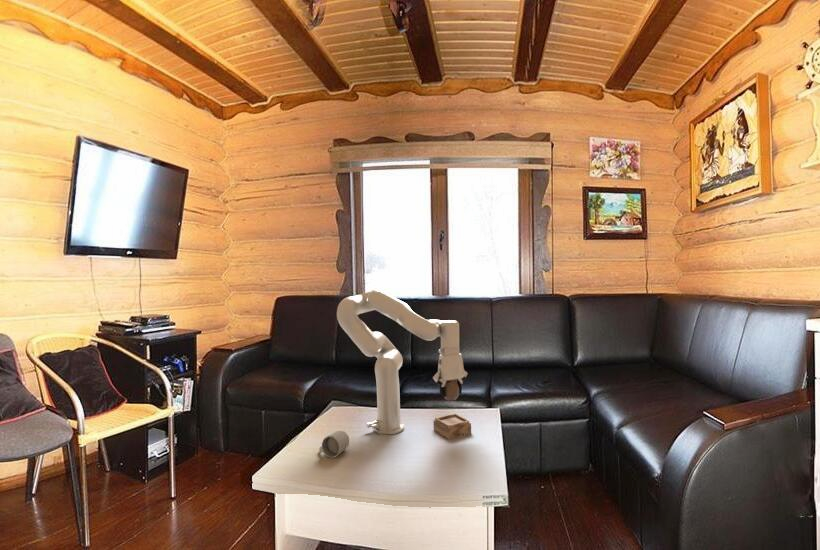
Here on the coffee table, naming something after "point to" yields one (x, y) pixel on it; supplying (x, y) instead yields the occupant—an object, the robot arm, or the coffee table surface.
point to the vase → (451, 390)
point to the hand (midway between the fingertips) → (450, 394)
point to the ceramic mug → (335, 444)
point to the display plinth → (452, 425)
